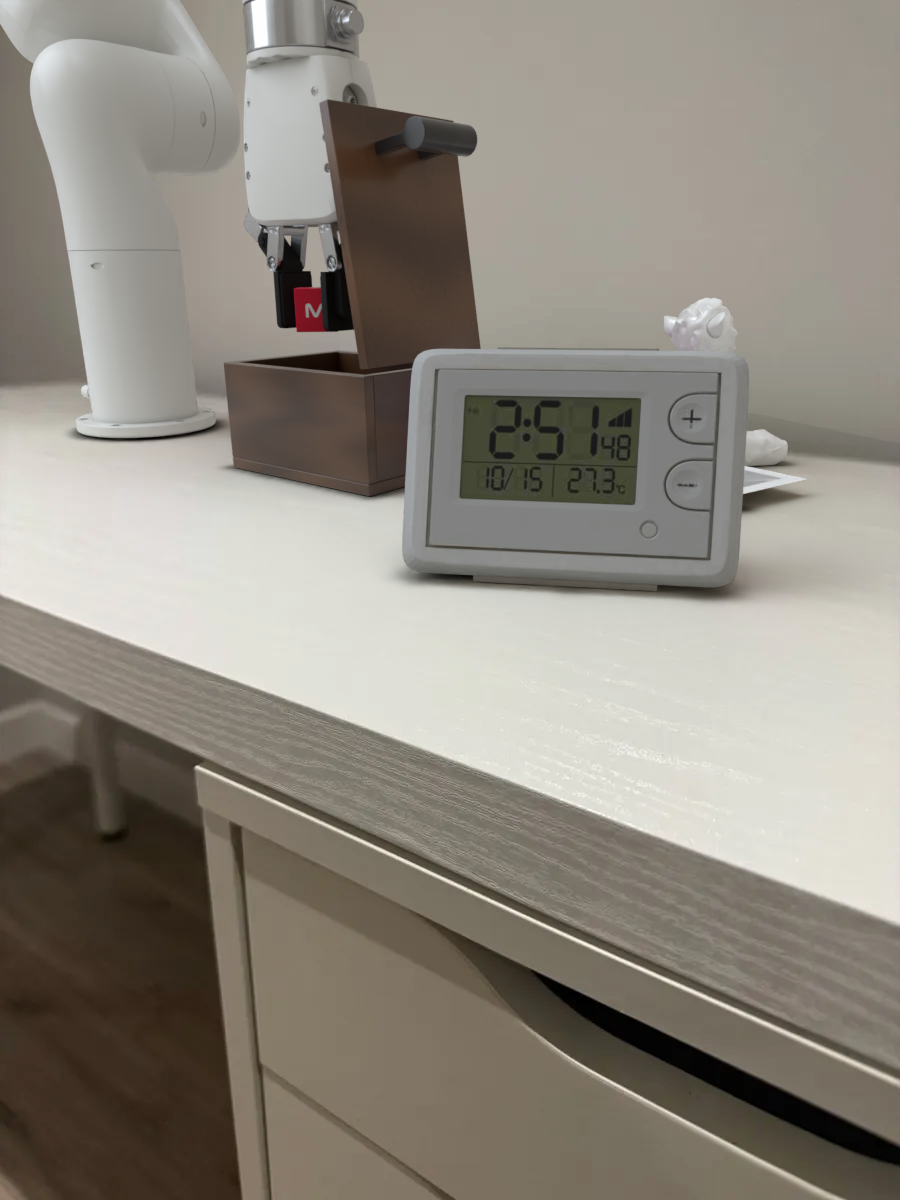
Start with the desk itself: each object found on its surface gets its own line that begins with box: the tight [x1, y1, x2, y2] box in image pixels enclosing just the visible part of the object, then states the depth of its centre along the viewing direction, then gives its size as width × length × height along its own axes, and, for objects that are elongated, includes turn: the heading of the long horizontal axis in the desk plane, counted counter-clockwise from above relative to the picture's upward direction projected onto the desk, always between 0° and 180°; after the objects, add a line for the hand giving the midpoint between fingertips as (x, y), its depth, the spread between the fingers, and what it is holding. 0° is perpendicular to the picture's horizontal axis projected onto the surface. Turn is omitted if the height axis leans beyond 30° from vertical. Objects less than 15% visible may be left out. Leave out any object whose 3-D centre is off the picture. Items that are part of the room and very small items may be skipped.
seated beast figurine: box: [663, 297, 789, 467], centre depth 66 cm, size 10×9×12 cm
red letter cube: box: [294, 286, 339, 333], centre depth 65 cm, size 3×3×3 cm
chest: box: [223, 349, 413, 497], centre depth 66 cm, size 15×12×8 cm
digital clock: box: [401, 347, 750, 592], centre depth 42 cm, size 16×9×11 cm, turn 69°
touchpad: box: [743, 466, 809, 495], centre depth 57 cm, size 8×15×2 cm, turn 125°
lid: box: [319, 99, 482, 370], centre depth 56 cm, size 15×12×5 cm
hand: (318, 325), depth 65 cm, fingers closed on red letter cube, 4 cm apart
